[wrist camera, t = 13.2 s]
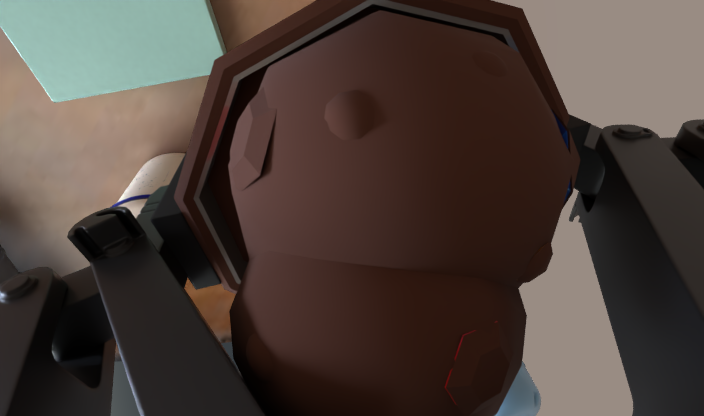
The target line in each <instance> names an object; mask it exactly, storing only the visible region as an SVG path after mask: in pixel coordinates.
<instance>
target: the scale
mask: <svg viewBox="0 0 704 416" xmlns="http://www.w3.org/2000/svg"><path fill="white" fill-rule="evenodd" d="M0 27H1V28H2V29H3V31H4V32H5V34H6V35H7V37H8V38H9V39H10V41H11V42H12V44H13V45H14V46H15V48H16V49H17V51H18V52H19V54H20V55H21V56H22V58H23V59H24V61H25V62H26V63H27V65H28V66H29V68H30V69H31V71H32V72H33V73H34V75H35V76H36V78H37V79H38V81H39V82H40V83H41V85H42V86H43V88H44V89H45V90H46V92H47V93H48V95H49V96H50V98H51V99H52V100H53V102H54V103H56V102H62V101H67V100H73V99H78V98H84V97H89V96H95V95H100V94H106V93H111V92H117V91H122V90H128V89H134V88H139V87H145V86H150V85H156V84H161V83H167V82H172V81H178V80H183V79H189V78H194V77H200V76H205V75H210V73H211V70H212V66H213V63H214V60H215V59H217V58H219V57H220V56H222V55H224V54H226V53H227V51H226V48H225V45H224V42H223V39H222V36H221V33H220V30H219V27H218V24H217V21H216V18H215V15H214V12H213V9H212V6H211V4H210V1H209V0H0Z"/></svg>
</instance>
